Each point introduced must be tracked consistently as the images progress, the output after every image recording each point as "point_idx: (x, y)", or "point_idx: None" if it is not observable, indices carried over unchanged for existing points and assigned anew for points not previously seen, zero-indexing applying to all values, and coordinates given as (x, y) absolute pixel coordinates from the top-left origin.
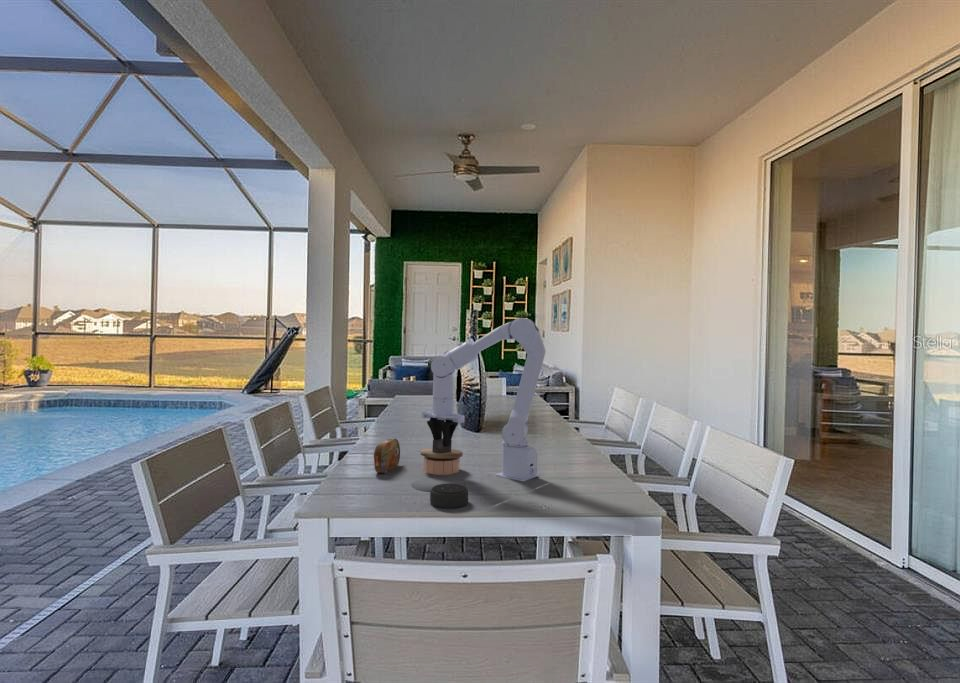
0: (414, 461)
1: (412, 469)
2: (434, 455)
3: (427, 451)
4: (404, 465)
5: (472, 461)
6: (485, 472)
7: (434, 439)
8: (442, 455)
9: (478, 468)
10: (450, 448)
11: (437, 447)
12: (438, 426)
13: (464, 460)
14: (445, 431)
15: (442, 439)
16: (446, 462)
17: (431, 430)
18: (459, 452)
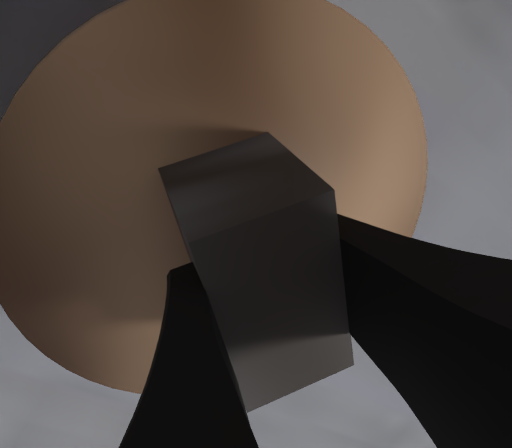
0: (497, 143)
1: (368, 5)
2: (73, 38)
3: (320, 98)
4: (481, 25)
5: (281, 415)
6: (4, 401)
7: (356, 231)
8: (17, 133)
9: (126, 396)
10: None
11: (214, 181)
12: (478, 426)
13: (323, 388)
14: (140, 433)
15: (308, 325)
16: None
17: (491, 265)
18: (136, 367)
